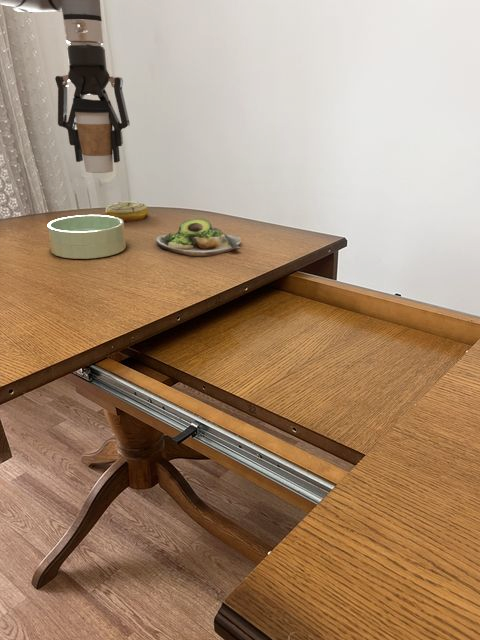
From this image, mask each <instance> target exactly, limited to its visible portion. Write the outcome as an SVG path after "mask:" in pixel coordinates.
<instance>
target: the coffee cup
mask: <svg viewBox="0 0 480 640" xmlns="http://www.w3.org/2000/svg"><path fill="white" fill-rule="evenodd" d="M107 102H108V103H109V104H110V106H111V105H112V103H111V100H110V101H101V100H100V99H90V98H83V99H80V98H74V97H72V103H73V108H72V109H73V112H75V116H76V121H77V123H76V129H77V131H78V136H79V140H80V145H81V150H82V156H83V164H84V169H85V172H86V173H91V174H107V173H112V172H113V171H114V167H113V166H114V158H113V147H112V137H111V131H113V130H114V127H113V125H112V123H111V121H110V119H109V112H110V109H109V108H108V103H107Z"/></svg>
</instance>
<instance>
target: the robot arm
mask: <svg viewBox="0 0 480 640" xmlns="http://www.w3.org/2000/svg"><path fill="white" fill-rule="evenodd" d="M0 6H7V7H10V8H11V9H12V10H13V11H16V12H20V13H22V12H23V13H29V14H33V13H46V12H47V13H48V12H62V18H63V26H64V35H65V41H66V43H67V44H69V45H67V47H66V51H67V60H68V68H69V69H68V73H67V74H64V75H56V76H55V83H56V87H57V125H58V126H59V127H62V128H64V129H66V130H67V135H68V143H69V145H70V146H73V147H74V157H75V162H76V163H80V162H82V161H83V162H84V159H83V154H82V150H81V145H80V140H79V136H78V131H77V126H76V123H77V121H76V116H75V112H73V109H72V108H73V102H72V104H71V108H70V111H69V115H68V87H69V85H70V83H69V82H71V84H72V85H73V87H74V88H75V90H74V93H73V98H80V99H85V96H88V95H93V96H97V97H98V100H101V101H110V102H111V100H110V98H109V95H108V92H107V91H106V87H107V85H108V84H109V83H110V85H111V88H113V91H114V96H115V100H116V104H117V109H118V114H119V118H118V115H117V113H116V111H115V109H114V106H113V104H111V106H110V104H109V103H108V102H107V103H108V108H109V109H110V112H109V119H110V121H111V123H112V128H113V131H111V137H112V147H113V154H112V158H113V163H115V164H116V163H119V162H120V161H121V158H120V147H122V146H123V144H124V141H123V139H124V138H123V130H124V129H126V128H128V127H130V125H131V122H130V119H129V115H128V114H129V113H128V110H127V105H126V101H125V96H124V92H123V84H124V80H123V77H122V76H121V77H119V76H114V75H113V76H112V75H110V74H109V72H108V68H107V59H106V50H105V48H104V46H102V45H104V44H105V36H104V28H103V20H102V19H103V18H102V12H101V0H0Z"/></svg>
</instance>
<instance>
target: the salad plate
mask: <svg viewBox="0 0 480 640" xmlns="http://www.w3.org/2000/svg"><path fill="white" fill-rule="evenodd" d="M155 242H156V245H157V246H158V247H159V248H160V249H162V250H165V251H167V252H172V253H175V254H180V255H184V256H190V257H213V256H218V255H221V254H224V253H228V252H231V251H233V250H240V249H241V247H240V245H241V237H239V236H235V235H231V234H227V233H224V232H223V231H222V230H221V229H220V228H217V227H212V224H211V222H210V221H208V220H207V219H204V218H192V219H188V220H185V221H183V222H181V223H180V225H179V226H178V231H177V232H174V233H171V232H170V233H168V234H163V235H160V236H159V235H158V236H157V237H156V241H155Z"/></svg>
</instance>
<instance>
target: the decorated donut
mask: <svg viewBox="0 0 480 640" xmlns="http://www.w3.org/2000/svg"><path fill="white" fill-rule="evenodd" d="M105 214H106V216H112V217H116V218H119V219H122V220H123V222H135V221H140V220H144V219H145V218H146V217H147V216H148V214H149V209H148V205H146V204H145V203H144V202H139V201H122V202H120V201H119V202H116V203H111V204H109V205H107V206H106V207H105Z"/></svg>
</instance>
